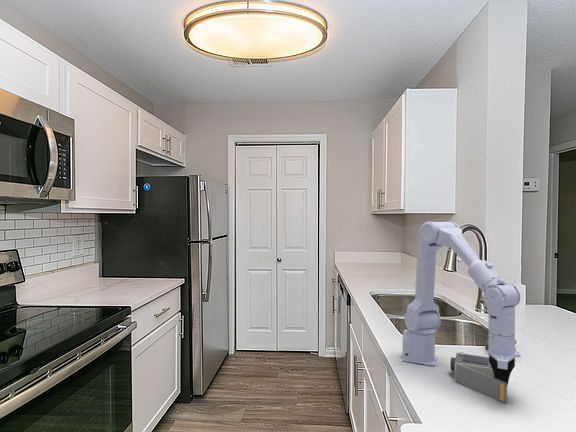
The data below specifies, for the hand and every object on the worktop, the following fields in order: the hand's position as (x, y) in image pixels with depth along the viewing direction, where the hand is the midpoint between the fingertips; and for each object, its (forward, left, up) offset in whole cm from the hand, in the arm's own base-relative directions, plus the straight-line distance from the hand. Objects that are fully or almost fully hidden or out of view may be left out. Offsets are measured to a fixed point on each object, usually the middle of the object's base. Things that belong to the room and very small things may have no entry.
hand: (501, 388), depth 96 cm
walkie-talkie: (+1, +39, -3) cm, 39 cm away
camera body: (-6, +10, -2) cm, 12 cm away
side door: (-5, +1, -2) cm, 6 cm away
